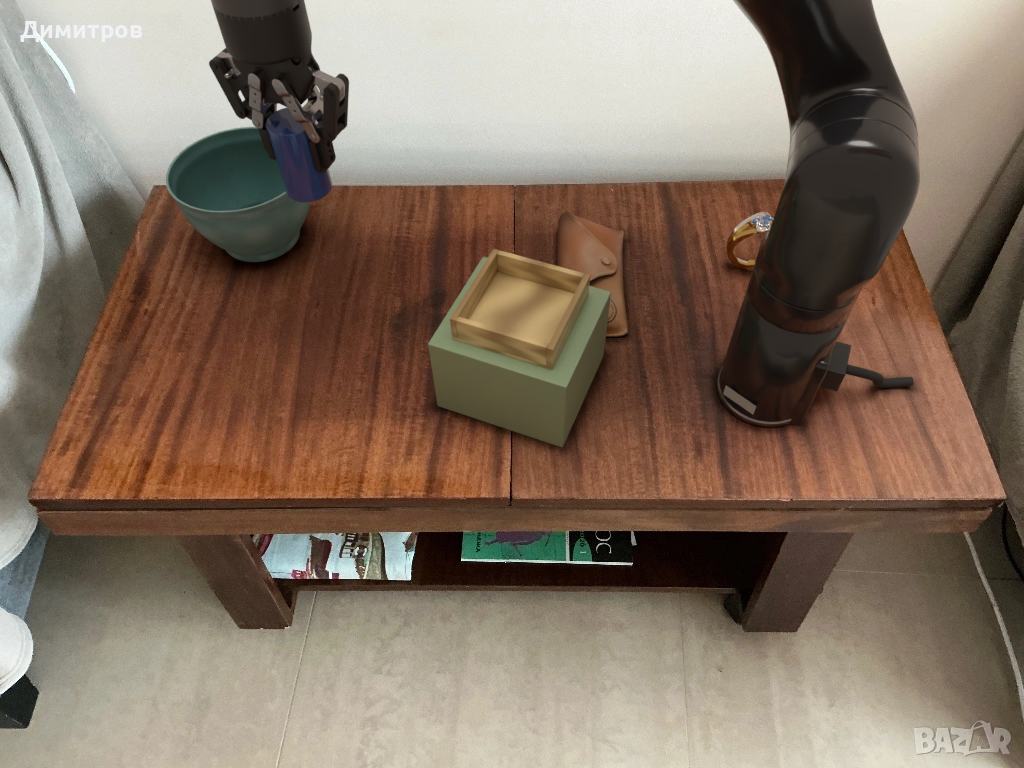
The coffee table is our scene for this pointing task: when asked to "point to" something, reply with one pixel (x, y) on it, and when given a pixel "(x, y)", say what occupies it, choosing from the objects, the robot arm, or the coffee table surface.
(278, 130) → the blue cylinder
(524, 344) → the tray
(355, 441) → the coffee table surface
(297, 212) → the teal bowl
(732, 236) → the ring
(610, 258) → the sunglasses case
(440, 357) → the riser
